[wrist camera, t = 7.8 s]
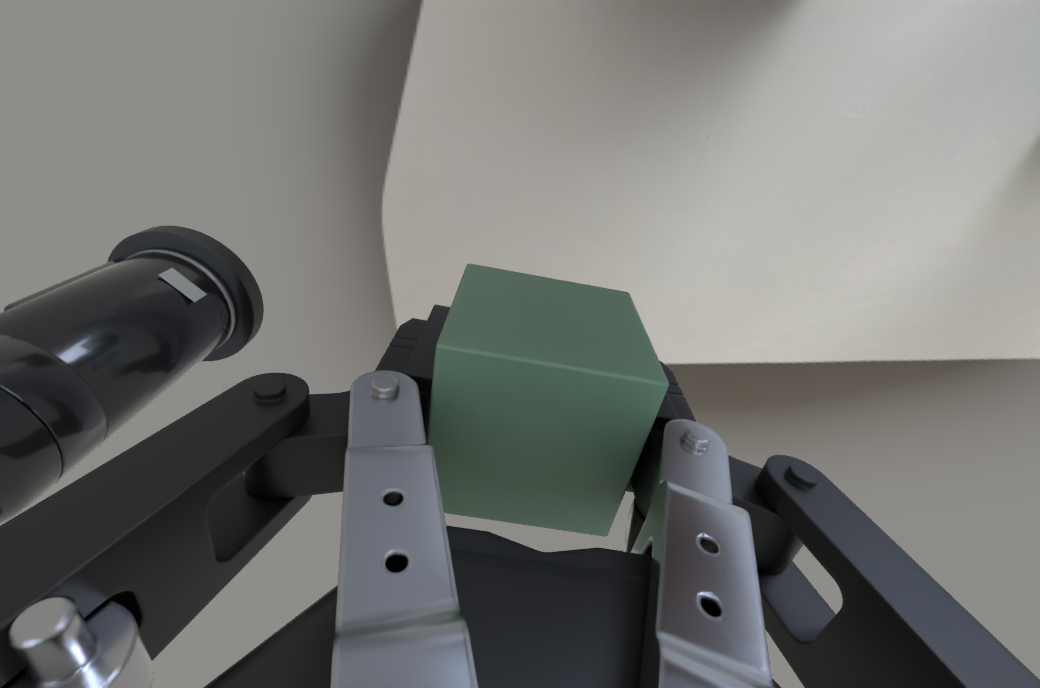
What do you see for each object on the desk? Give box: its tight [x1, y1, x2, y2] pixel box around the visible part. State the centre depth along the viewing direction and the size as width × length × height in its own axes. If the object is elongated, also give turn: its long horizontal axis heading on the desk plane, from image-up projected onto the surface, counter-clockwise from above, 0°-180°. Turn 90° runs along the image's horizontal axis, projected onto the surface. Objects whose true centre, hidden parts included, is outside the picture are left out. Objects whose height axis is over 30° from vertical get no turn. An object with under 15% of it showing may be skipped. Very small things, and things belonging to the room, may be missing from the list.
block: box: [426, 264, 669, 536], centre depth 11 cm, size 4×4×4 cm
